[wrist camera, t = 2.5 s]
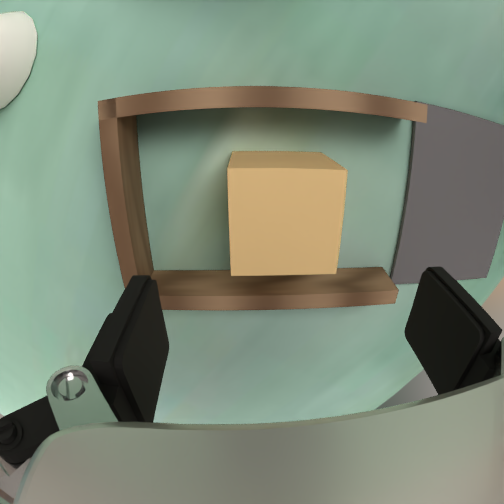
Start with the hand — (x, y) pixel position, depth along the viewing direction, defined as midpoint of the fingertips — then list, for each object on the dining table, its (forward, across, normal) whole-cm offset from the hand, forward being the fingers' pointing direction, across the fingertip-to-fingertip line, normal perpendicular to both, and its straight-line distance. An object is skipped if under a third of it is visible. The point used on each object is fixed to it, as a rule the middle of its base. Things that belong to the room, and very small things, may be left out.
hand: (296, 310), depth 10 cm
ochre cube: (+13, -1, 0) cm, 13 cm away
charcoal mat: (+12, -17, 0) cm, 21 cm away
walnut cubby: (+13, -1, 0) cm, 13 cm away
